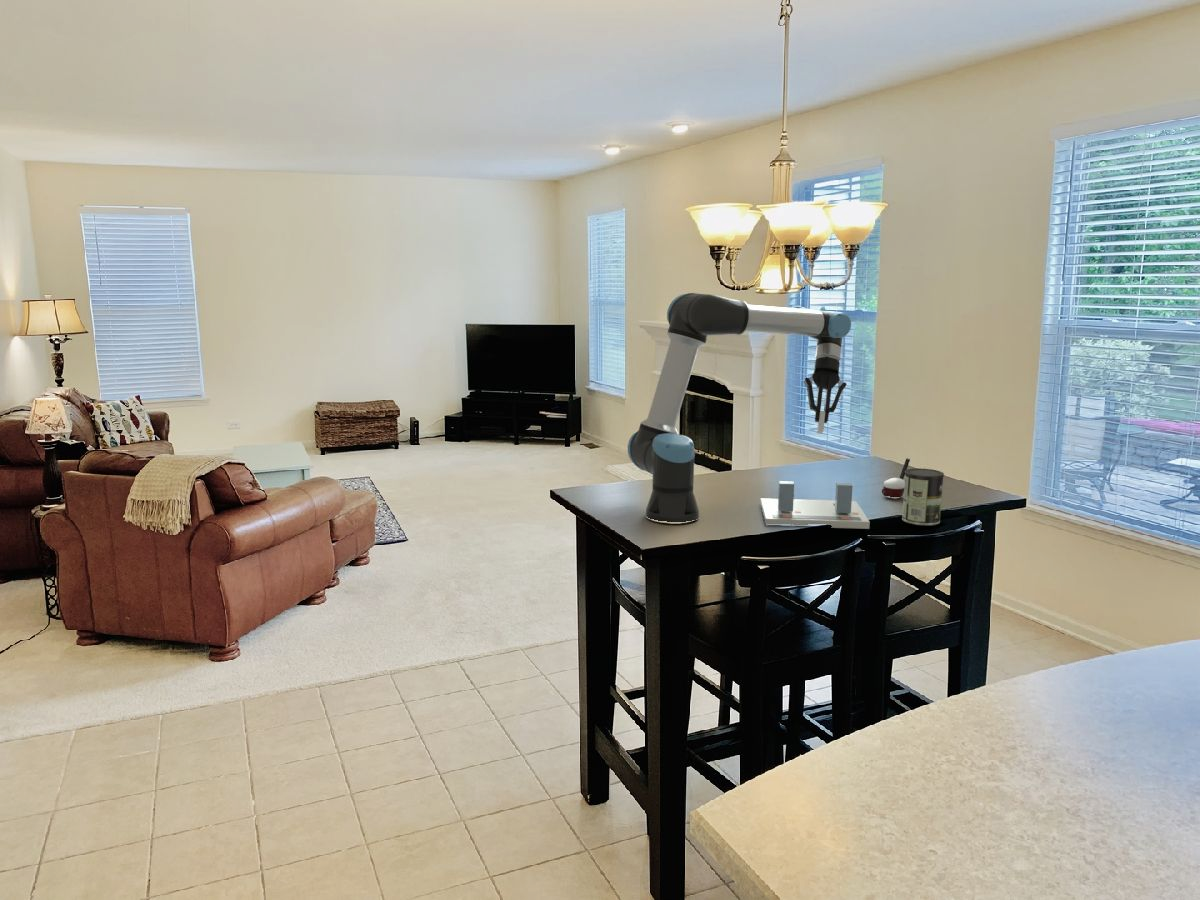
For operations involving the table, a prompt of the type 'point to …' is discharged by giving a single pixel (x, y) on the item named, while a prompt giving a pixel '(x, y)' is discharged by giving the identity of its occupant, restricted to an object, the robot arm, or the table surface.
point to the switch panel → (814, 514)
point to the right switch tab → (843, 497)
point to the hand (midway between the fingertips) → (820, 432)
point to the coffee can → (922, 496)
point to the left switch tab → (785, 496)
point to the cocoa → (895, 484)
